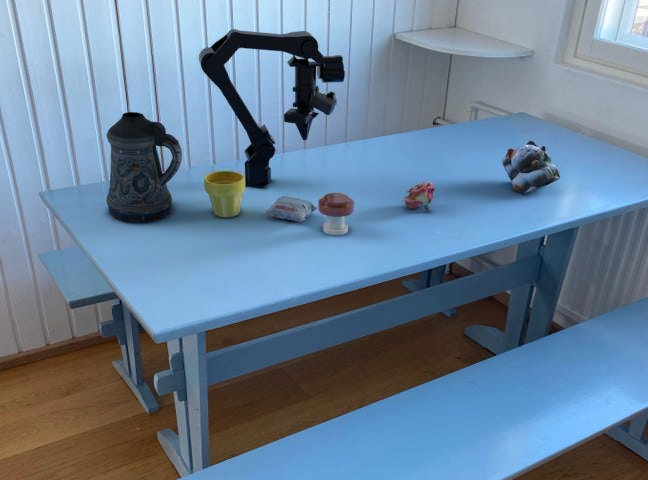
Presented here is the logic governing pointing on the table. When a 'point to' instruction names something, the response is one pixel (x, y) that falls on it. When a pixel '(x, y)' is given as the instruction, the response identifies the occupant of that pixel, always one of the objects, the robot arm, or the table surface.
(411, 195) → the flower
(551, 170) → the lucky cat figurine
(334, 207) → the mushroom
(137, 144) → the beer stein
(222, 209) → the flower pot
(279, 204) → the packaged food
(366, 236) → the table surface
